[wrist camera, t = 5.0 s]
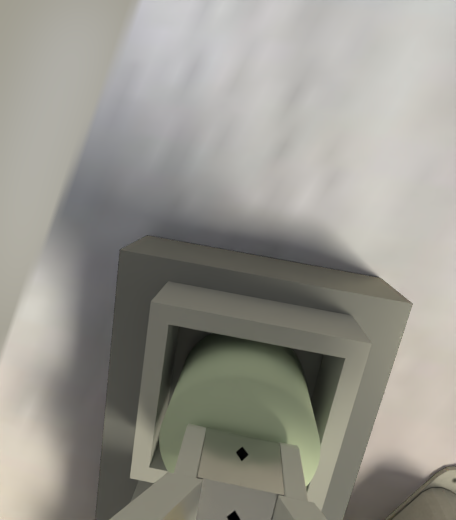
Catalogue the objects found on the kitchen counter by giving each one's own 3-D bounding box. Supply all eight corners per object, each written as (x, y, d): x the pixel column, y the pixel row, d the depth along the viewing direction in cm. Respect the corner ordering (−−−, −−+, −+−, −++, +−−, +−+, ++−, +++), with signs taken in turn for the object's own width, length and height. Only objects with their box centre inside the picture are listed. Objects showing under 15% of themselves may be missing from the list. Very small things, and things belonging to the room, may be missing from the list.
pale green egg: (290, 446, 13) (300, 526, 10) (174, 422, 13) (151, 494, 10) (317, 340, 12) (337, 394, 9) (191, 315, 12) (169, 361, 9)
